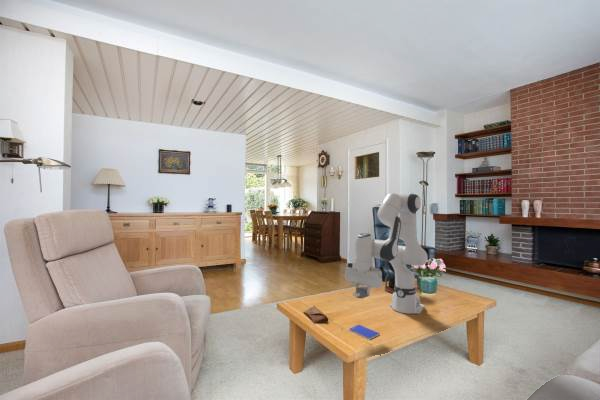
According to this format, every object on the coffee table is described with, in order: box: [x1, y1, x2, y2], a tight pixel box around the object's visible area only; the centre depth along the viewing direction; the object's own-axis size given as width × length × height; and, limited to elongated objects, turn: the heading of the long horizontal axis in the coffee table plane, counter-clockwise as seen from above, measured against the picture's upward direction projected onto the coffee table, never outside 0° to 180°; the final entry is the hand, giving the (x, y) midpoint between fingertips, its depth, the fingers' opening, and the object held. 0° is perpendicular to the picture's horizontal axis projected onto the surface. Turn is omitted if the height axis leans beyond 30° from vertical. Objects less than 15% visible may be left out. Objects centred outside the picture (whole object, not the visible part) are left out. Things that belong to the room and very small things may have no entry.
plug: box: [352, 285, 370, 299], centre depth 144 cm, size 11×4×4 cm, turn 135°
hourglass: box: [384, 260, 408, 295], centre depth 213 cm, size 16×16×25 cm
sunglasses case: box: [302, 305, 329, 325], centre depth 162 cm, size 18×7×7 cm
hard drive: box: [348, 324, 380, 340], centre depth 143 cm, size 2×8×12 cm
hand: (362, 292), depth 145 cm, fingers closed on plug, 4 cm apart
